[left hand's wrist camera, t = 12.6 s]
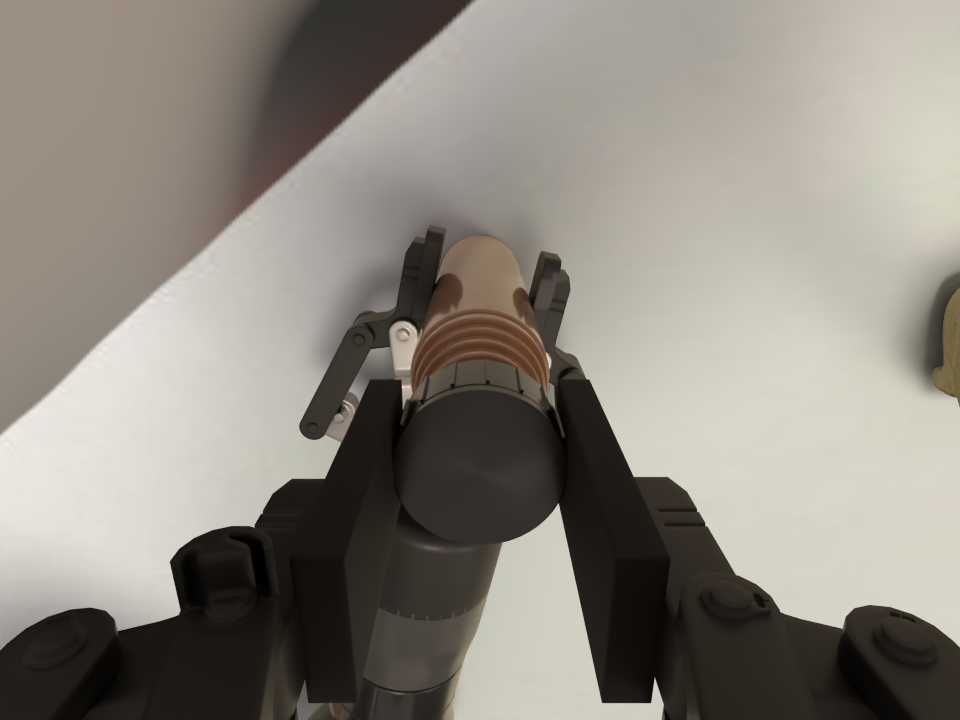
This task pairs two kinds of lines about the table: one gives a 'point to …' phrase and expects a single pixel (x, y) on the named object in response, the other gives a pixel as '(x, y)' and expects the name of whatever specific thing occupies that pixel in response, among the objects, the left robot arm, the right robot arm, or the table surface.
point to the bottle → (479, 314)
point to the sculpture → (950, 350)
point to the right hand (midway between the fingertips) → (493, 244)
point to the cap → (479, 453)
